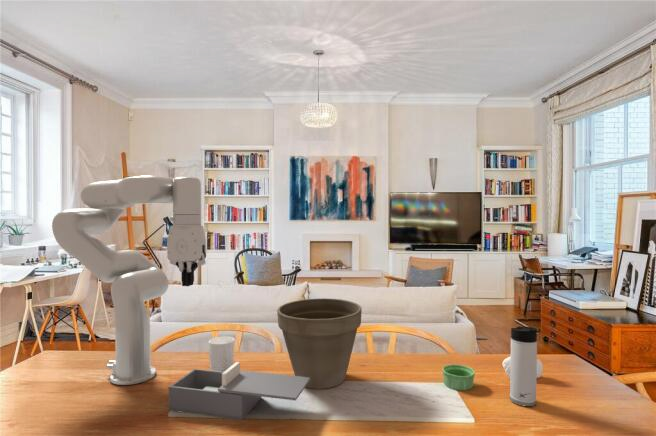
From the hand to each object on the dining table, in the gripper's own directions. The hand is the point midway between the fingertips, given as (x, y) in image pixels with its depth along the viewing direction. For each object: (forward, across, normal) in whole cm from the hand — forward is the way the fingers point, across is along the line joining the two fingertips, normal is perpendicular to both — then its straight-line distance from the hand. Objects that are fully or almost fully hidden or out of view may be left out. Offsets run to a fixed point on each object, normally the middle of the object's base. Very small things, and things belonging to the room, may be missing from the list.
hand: (187, 285), depth 118 cm
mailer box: (+29, +13, -8) cm, 33 cm away
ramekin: (+29, +75, +20) cm, 83 cm away
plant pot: (+29, +35, +14) cm, 48 cm away
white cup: (+29, +4, +12) cm, 32 cm away
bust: (+29, +94, +31) cm, 103 cm away
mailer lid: (+23, +27, -7) cm, 36 cm away
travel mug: (+29, +91, +13) cm, 96 cm away
